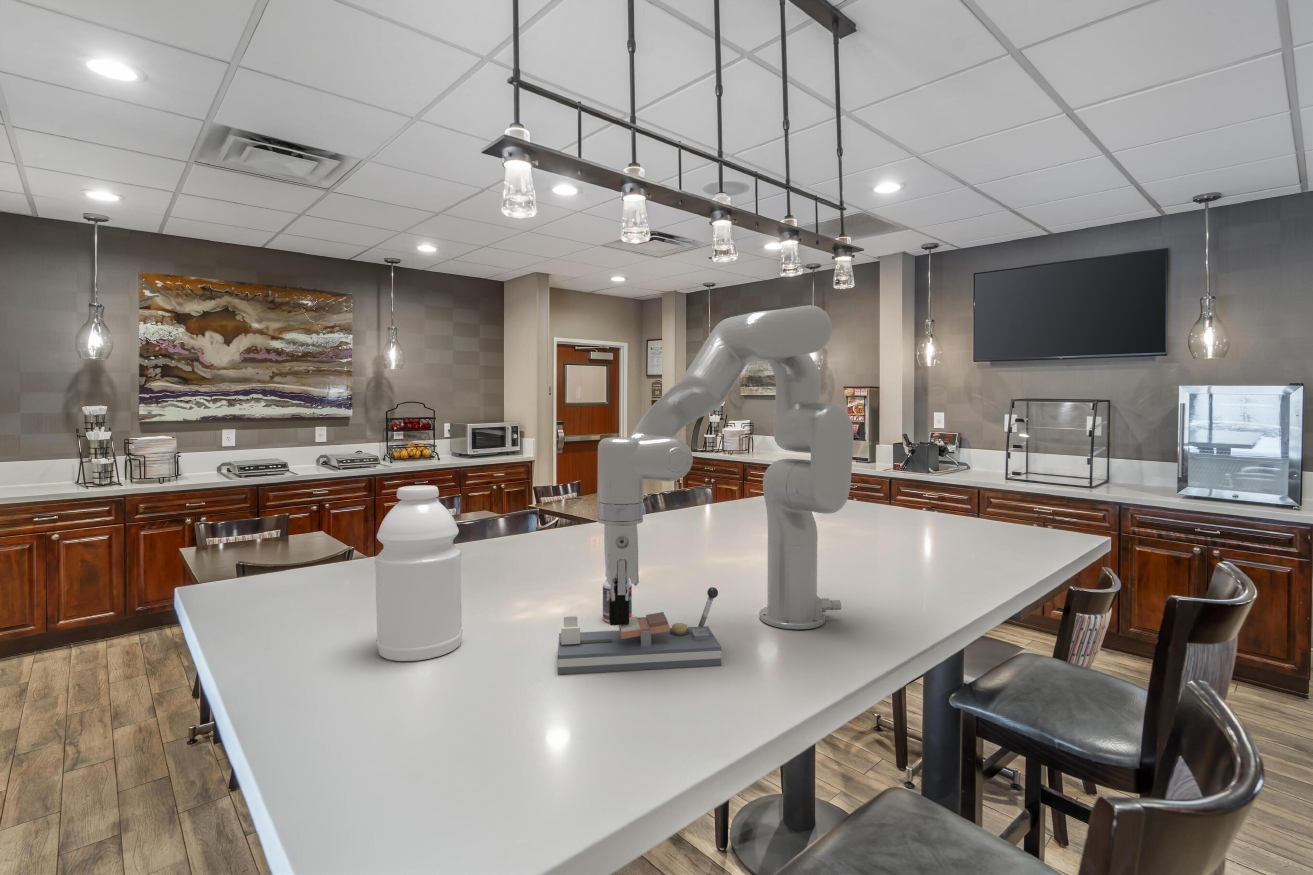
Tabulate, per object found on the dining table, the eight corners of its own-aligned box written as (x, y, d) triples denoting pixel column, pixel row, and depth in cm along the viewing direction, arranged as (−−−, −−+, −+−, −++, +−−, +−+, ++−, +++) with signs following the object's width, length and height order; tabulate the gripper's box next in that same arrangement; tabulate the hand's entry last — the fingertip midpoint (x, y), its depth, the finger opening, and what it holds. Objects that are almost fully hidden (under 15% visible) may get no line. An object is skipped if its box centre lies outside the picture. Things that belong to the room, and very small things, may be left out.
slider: (579, 638, 104) (579, 613, 104) (580, 643, 102) (579, 618, 102) (561, 639, 104) (561, 614, 104) (561, 644, 101) (561, 618, 101)
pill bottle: (627, 625, 121) (627, 574, 120) (599, 623, 122) (598, 572, 121) (634, 615, 126) (634, 566, 126) (607, 614, 127) (607, 565, 127)
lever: (703, 628, 107) (718, 587, 107) (705, 632, 105) (720, 590, 105) (693, 625, 106) (708, 584, 106) (695, 629, 105) (710, 587, 105)
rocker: (665, 620, 107) (664, 611, 107) (670, 630, 102) (668, 621, 102) (618, 628, 106) (617, 619, 106) (621, 639, 101) (620, 629, 101)
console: (707, 642, 111) (707, 611, 111) (721, 665, 101) (721, 631, 101) (559, 650, 108) (559, 618, 107) (557, 675, 98) (557, 639, 97)
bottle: (478, 638, 114) (476, 484, 113) (427, 667, 101) (424, 493, 99) (414, 629, 118) (412, 481, 117) (357, 656, 105) (354, 490, 104)
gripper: (648, 519, 96) (646, 638, 97) (638, 506, 111) (637, 609, 111) (599, 520, 95) (597, 640, 96) (595, 506, 110) (594, 610, 110)
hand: (619, 623), depth 103 cm, fingers closed
